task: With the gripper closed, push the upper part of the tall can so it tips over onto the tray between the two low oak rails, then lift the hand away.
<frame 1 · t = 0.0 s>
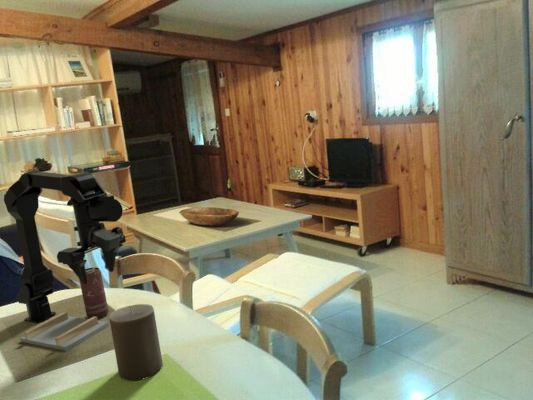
hand: (98, 277, 133), 15 cm above the table, fingers open, 9 cm apart
tray: (65, 333, 136), on the table
pillar candle: (141, 369, 112), on the table
can: (98, 315, 146), on the table
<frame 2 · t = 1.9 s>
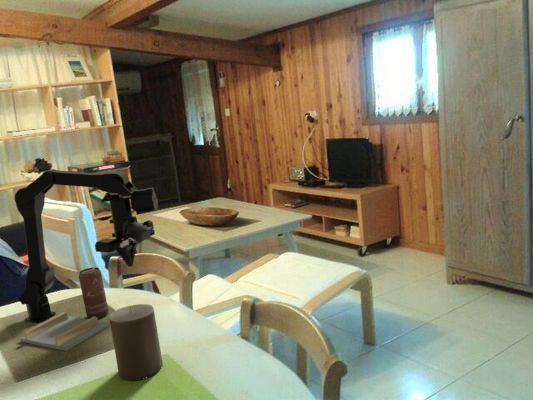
hand: (130, 266, 147), 13 cm above the table, fingers closed
nothing on the table moved.
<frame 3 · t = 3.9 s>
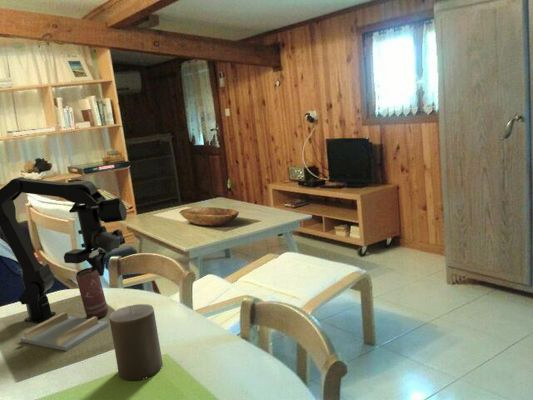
hand: (101, 275, 147), 11 cm above the table, fingers closed
can: (98, 315, 146), on the table, touching gripper
everything else where it was.
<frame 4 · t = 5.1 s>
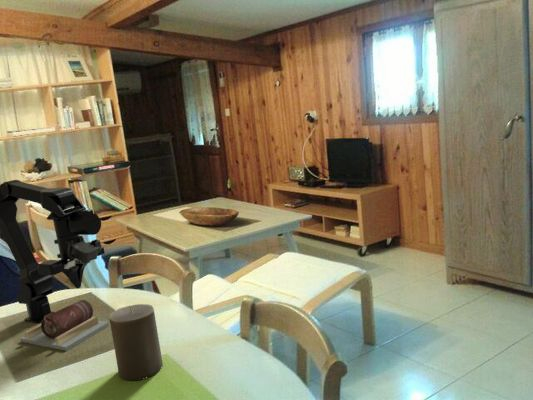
hand: (78, 287, 140), 10 cm above the table, fingers closed
can: (85, 308, 144), point 3 cm above the table, touching tray
everything else where it was.
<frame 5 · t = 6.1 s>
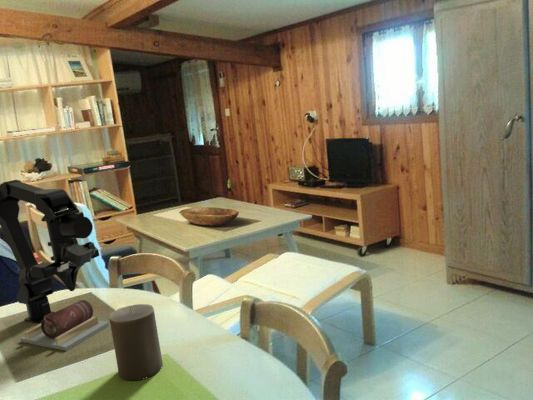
hand: (72, 290, 138), 10 cm above the table, fingers closed
nothing on the table moved.
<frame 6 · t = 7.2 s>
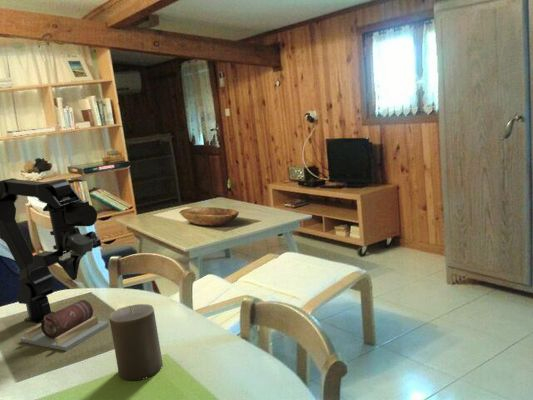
hand: (74, 279, 140), 13 cm above the table, fingers closed
nothing on the table moved.
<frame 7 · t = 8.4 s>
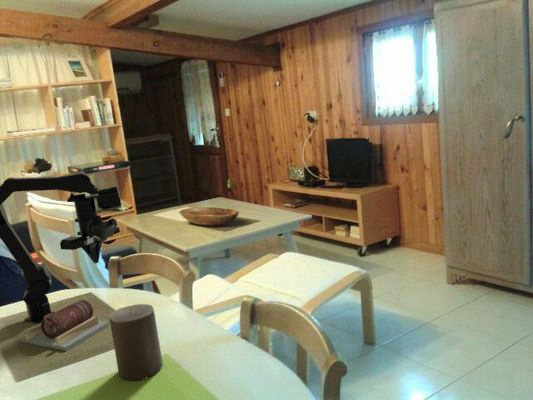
hand: (96, 263, 153), 13 cm above the table, fingers closed
nothing on the table moved.
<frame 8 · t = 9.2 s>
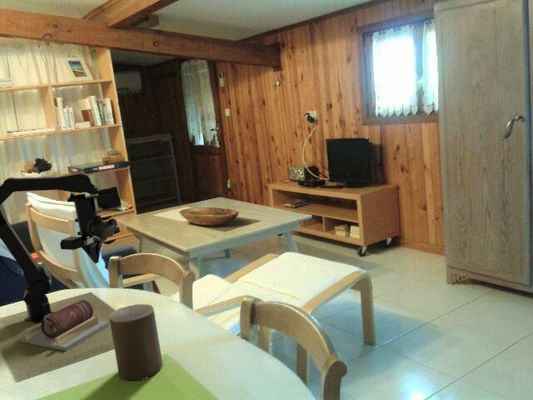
hand: (96, 263, 153), 13 cm above the table, fingers closed
nothing on the table moved.
at the end: can tilted 85°; can touching tray, table; can inside the target area (2.8 cm from its centre), point 3.1 cm above the table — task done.
